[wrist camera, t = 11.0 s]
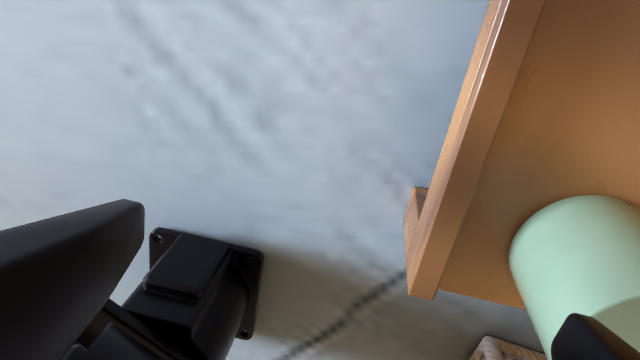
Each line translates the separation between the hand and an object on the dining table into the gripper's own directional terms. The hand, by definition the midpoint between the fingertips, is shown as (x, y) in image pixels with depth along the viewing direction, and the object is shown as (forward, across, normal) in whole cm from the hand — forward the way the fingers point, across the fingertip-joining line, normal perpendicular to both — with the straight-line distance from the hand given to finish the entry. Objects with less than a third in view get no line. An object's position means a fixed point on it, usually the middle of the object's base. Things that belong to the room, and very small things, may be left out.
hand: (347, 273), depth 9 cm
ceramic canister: (+7, -8, +2) cm, 11 cm away
